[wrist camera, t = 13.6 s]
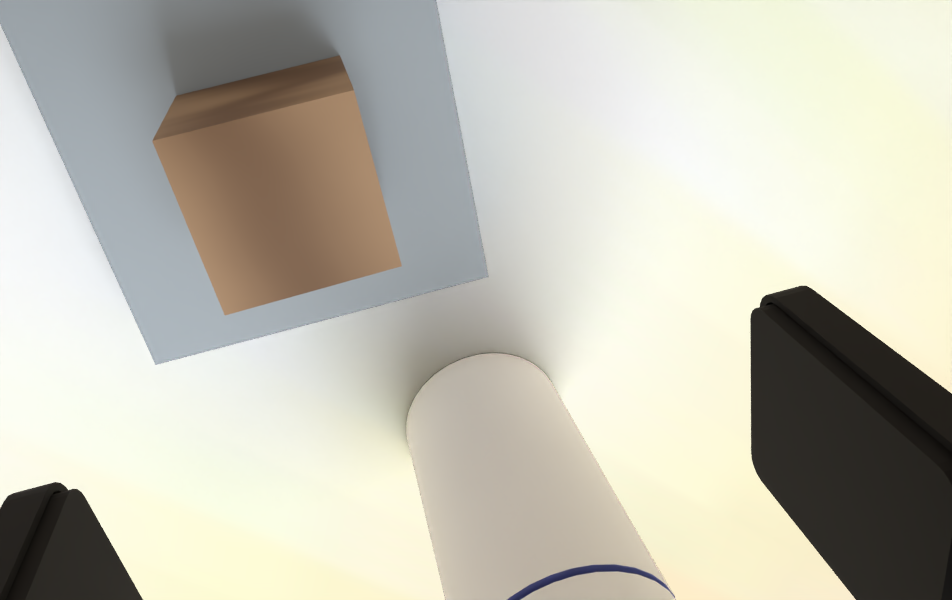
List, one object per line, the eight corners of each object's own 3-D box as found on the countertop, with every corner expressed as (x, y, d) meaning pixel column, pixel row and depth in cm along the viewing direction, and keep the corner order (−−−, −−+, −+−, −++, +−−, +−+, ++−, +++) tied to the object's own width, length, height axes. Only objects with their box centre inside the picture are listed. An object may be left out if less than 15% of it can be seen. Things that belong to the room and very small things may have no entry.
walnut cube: (340, 55, 23) (354, 90, 19) (381, 205, 26) (401, 266, 21) (175, 95, 23) (152, 141, 19) (234, 244, 25) (224, 315, 21)
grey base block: (400, -88, 26) (419, -88, 22) (465, 236, 31) (488, 276, 28) (31, -12, 24) (-10, 1, 21) (170, 312, 30) (155, 364, 27)
